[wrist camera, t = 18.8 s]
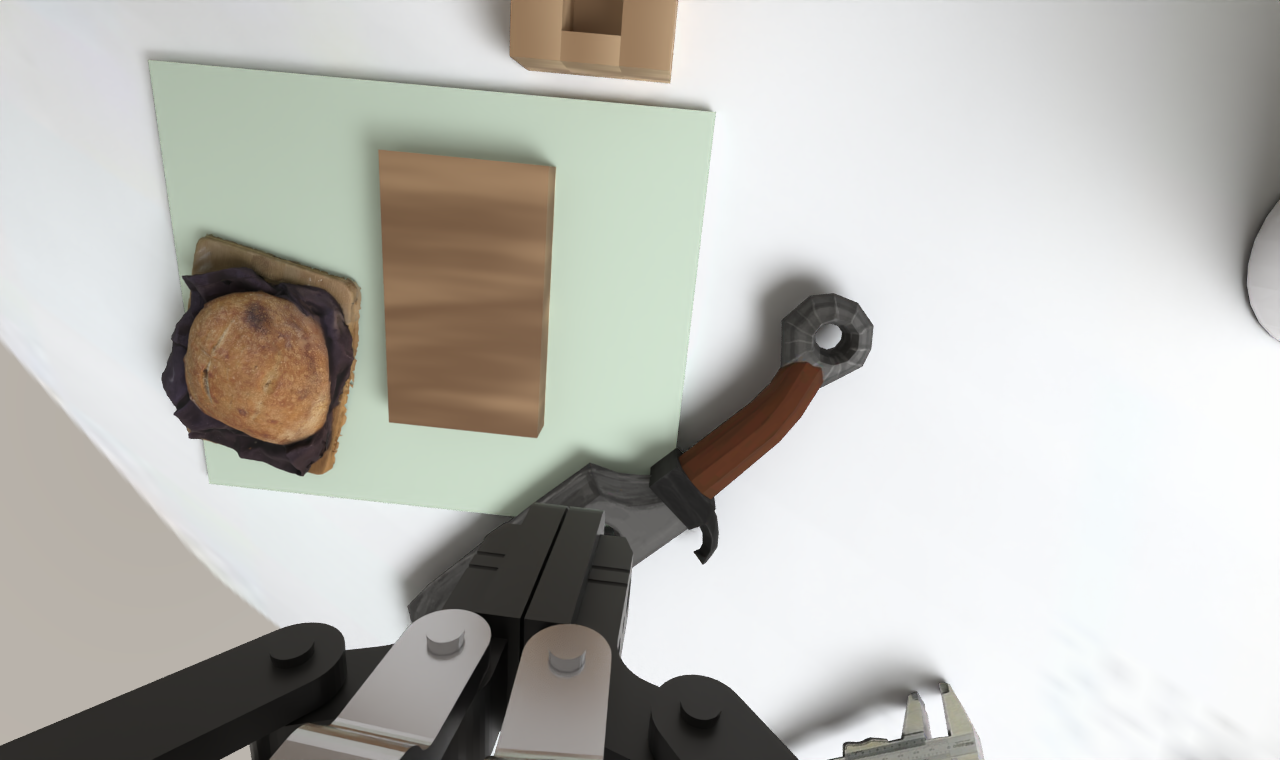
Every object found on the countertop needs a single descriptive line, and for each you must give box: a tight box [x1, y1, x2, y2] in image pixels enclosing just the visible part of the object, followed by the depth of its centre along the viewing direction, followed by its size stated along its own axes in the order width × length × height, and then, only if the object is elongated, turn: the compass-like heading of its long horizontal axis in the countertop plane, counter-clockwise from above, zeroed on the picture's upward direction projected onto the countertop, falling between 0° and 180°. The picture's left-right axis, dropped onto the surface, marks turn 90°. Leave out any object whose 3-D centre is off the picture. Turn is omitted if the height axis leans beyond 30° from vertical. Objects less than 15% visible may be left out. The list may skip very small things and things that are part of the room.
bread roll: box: [162, 234, 361, 476], centre depth 28 cm, size 11×8×4 cm
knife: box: [408, 293, 873, 623], centre depth 30 cm, size 9×2×30 cm
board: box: [378, 150, 556, 438], centre depth 27 cm, size 2×7×12 cm
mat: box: [148, 60, 716, 527], centre depth 29 cm, size 24×20×1 cm
